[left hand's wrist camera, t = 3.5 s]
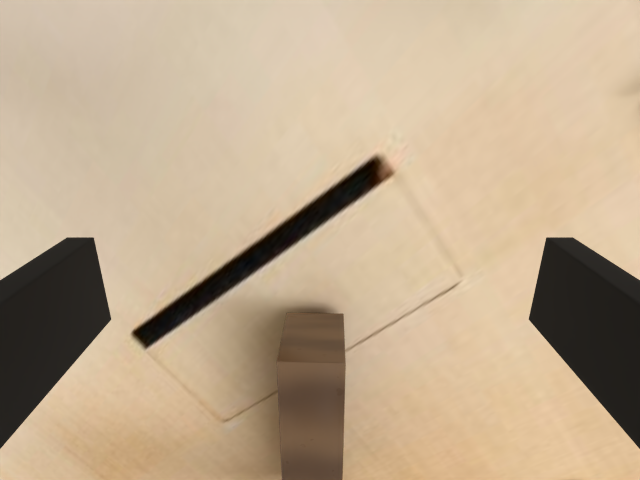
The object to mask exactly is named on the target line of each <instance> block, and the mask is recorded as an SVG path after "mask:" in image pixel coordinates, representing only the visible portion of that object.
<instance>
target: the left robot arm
mask: <svg viewBox="0 0 640 480" xmlns="http://www.w3.org/2000/svg"><path fill="white" fill-rule="evenodd" d="M110 320H111V316H110V312H109V307H108V302H107V298H106V293H105V288H104V284H103V279H102V274H101V270H100V265H99V260H98V256H97V251H96V246H95V242H94V238H66V239H64V240H63V241H61V242H60V243H58V244H56V245H55V246H53V247H52V248H50V249H49V250H47V251H45V252H44V253H42V254H41V255H39V256H38V257H36V258H35V259H33V260H31V261H30V262H28V263H27V264H25V265H24V266H22V267H20V268H19V269H17V270H16V271H14V272H13V273H11V274H10V275H8V276H6V277H5V278H3V279H2V280H0V448H1V447H2V446H3V445H4V444H5V443H6V441H7V440H8V439H9V438H10V437H11V436H12V434H13V433H14V432H15V431H16V430H17V429H18V427H19V426H20V425H21V424H22V423H23V422H24V420H25V419H26V418H27V417H28V416H29V415H30V413H31V412H32V411H33V410H34V409H35V408H36V406H37V405H38V404H39V403H40V402H41V401H42V399H43V398H44V397H45V396H46V395H47V394H48V392H49V391H50V390H51V389H52V388H53V387H54V385H55V384H56V383H57V382H58V381H59V380H60V378H61V377H62V376H63V375H64V374H65V373H66V371H67V370H68V369H69V368H70V367H71V366H72V364H73V363H74V362H75V361H76V360H77V359H78V357H79V356H80V355H81V354H82V353H83V352H84V350H85V349H86V348H87V347H88V346H89V345H90V343H91V342H92V341H93V340H94V339H95V338H96V337H97V335H98V334H99V333H100V332H101V331H102V330H103V328H104V327H105V326H106V325H107V324H108V323H109V321H110ZM529 320H530V321H531V323H532V324H533V325H534V326H535V327H536V328H537V330H538V331H539V332H540V333H541V334H542V335H543V337H544V338H545V339H546V340H547V341H548V342H549V344H550V345H551V346H552V347H553V348H554V349H555V350H556V352H557V353H558V354H559V355H560V356H561V357H562V359H563V360H564V361H565V362H566V363H567V364H568V366H569V367H570V368H571V369H572V370H573V371H574V373H575V374H576V375H577V376H578V377H579V378H580V380H581V381H582V382H583V383H584V384H585V385H586V387H587V388H588V389H589V390H590V391H591V392H592V394H593V395H594V396H595V397H596V398H597V399H598V401H599V402H600V403H601V404H602V405H603V406H604V408H605V409H606V410H607V411H608V412H609V413H610V415H611V416H612V417H613V418H614V419H615V420H616V422H617V423H618V424H619V425H620V426H621V427H622V429H623V430H624V431H625V432H626V433H627V434H628V436H629V437H630V438H631V439H632V440H633V441H634V443H635V444H636V445H637V446H638V447H639V448H640V280H638V279H637V278H635V277H634V276H632V275H630V274H629V273H627V272H626V271H624V270H623V269H621V268H620V267H618V266H616V265H615V264H613V263H612V262H610V261H609V260H607V259H605V258H604V257H602V256H601V255H599V254H598V253H596V252H595V251H593V250H591V249H590V248H588V247H587V246H585V245H584V244H582V243H580V242H579V241H577V240H576V239H574V238H546V242H545V246H544V251H543V256H542V260H541V265H540V270H539V274H538V279H537V284H536V288H535V293H534V298H533V302H532V307H531V312H530V316H529Z"/></svg>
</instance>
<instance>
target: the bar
mask: <svg viewBox="0 0 640 480" xmlns="http://www.w3.org/2000/svg"><path fill="white" fill-rule="evenodd" d="M277 379H278V401H279V423H280V446H281V468H282V480H342V474H343V437H344V400H345V340H344V315H343V314H328V313H287V314H286V319H285V324H284V329H283V334H282V339H281V344H280V349H279V353H278V358H277Z"/></svg>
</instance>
